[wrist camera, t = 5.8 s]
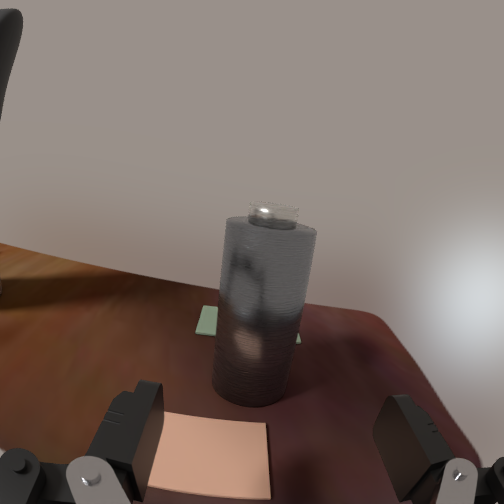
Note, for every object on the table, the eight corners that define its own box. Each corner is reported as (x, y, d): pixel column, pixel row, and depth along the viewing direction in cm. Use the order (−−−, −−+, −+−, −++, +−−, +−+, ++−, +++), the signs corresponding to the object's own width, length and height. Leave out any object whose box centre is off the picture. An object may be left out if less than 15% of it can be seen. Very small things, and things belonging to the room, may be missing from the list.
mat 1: (195, 333, 28) (195, 331, 28) (203, 306, 34) (203, 305, 34) (300, 343, 29) (301, 342, 29) (292, 316, 34) (292, 314, 34)
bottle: (209, 403, 19) (226, 204, 16) (214, 359, 25) (230, 196, 22) (290, 408, 20) (330, 217, 16) (281, 364, 25) (309, 206, 22)
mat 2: (84, 468, 12) (83, 466, 12) (115, 403, 17) (114, 401, 17) (270, 499, 12) (270, 498, 12) (265, 425, 18) (265, 423, 18)
